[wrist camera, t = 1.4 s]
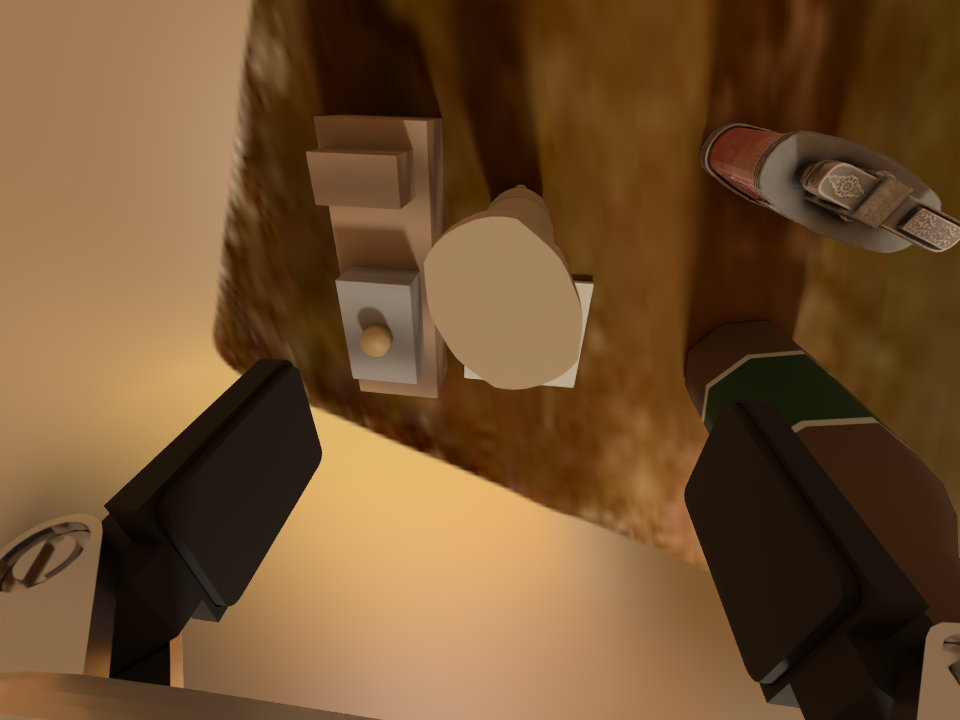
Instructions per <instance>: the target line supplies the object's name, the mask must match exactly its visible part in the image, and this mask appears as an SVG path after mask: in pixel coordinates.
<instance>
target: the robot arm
mask: <svg viewBox="0 0 960 720" xmlns="http://www.w3.org/2000/svg"><path fill="white" fill-rule="evenodd" d="M321 458H322V449H321V445H320V442H319V439H318V435H317V431H316V428H315V424H314V421H313V417H312V413H311V410H310V406H309V403H308V399H307V396H306V392H305V389H304V385H303V382H302V378H301V374H300V372H299V370H298V369H297V368H296V367H293V365H292V363H291V362H290V361H288V360H279V359H267V358H264V359H260V360H259V361H257V362H256V363H255V364H254V365H253V366H252V367H251V368H250V369H249V370H248V371H247V372H246V373H244V374H243V375H242V376H241V377H240V378H239V379H238V380H237V381H236V382H235V383H234V384H233V385H232V386H231V387H230V388H229V389H228V390H227V391H225V392H224V393H223V394H222V395H221V396H220V397H219V398H218V399H217V400H216V401H215V402H214V403H213V404H212V405H211V406H209V407H208V408H207V409H206V410H205V411H204V412H203V413H202V414H201V415H200V416H199V417H198V418H197V419H196V420H194V422H192V423H191V424H190V425H189V426H188V427H187V428H186V429H185V430H184V431H183V432H182V433H181V434H180V435H179V436H177V437H176V438H175V439H174V440H173V441H172V442H171V443H170V444H169V445H168V446H167V447H166V448H165V449H164V450H163V451H162V452H161V453H159V454H158V455H157V456H156V457H155V458H154V459H153V460H152V461H151V462H150V463H149V464H148V465H147V466H146V467H145V468H144V469H142V470H141V471H140V472H139V473H138V474H137V475H136V476H135V477H134V478H133V479H132V480H131V481H130V482H129V483H127V484H126V485H125V486H124V487H123V488H122V489H121V490H120V491H119V492H118V493H117V494H116V495H115V496H114V497H113V498H112V499H110V500H109V501H108V502H107V503H106V504H105V505H104V507H105V508H106V509H107V510H108V512H109V513H110V514H109V515H108V516H107V517H106V518H105V519H104V520H103V521H102V522H101V521H100V520H98V518H96V517H95V516H92V515H88V514H73V515H67V516H63V517H59V518H56V519H52V520H50V521H47V522H45V523H43V524H41V525H38V526H36V527H34V528H32V529H31V530H29V531H27V532H25V533H23V534H22V535H20V536H19V537H17V538H15V539H14V540H12V541H11V542H10V543H9V544H7V545H6V546H5V547H3V548H2V549H1V550H0V720H379V719H373V718H367V717H361V716H355V715H349V714H343V713H337V712H330V711H324V710H318V709H312V708H305V707H299V706H292V705H286V704H280V703H273V702H267V701H261V700H255V699H249V698H242V697H236V696H230V695H223V694H217V693H211V692H205V691H198V690H192V689H185V688H184V686H183V685H184V684H183V658H182V629H183V628H184V626H185V625H186V623H187V622H188V620H189V619H190V617H192V618H193V619H200V620H206V621H213V622H219V621H220V619H221V618H222V615H223V614H224V613H225V611H226V609H227V607H228V606H232V605H234V604H235V603H236V602H237V601H238V600H239V599H240V597H241V596H242V594H243V592H244V591H245V589H246V587H247V586H248V584H249V582H250V581H251V579H252V577H253V575H254V574H255V572H256V570H257V569H258V567H259V565H260V564H261V562H262V560H263V559H264V557H265V555H266V553H267V552H268V550H269V549H270V547H271V545H272V544H273V542H274V540H275V538H276V537H277V535H278V533H279V532H280V530H281V528H282V527H283V525H284V523H285V522H286V520H287V518H288V517H289V515H290V513H291V511H292V510H293V508H294V507H295V505H296V503H297V501H298V500H299V498H300V496H301V495H302V493H303V491H304V490H305V488H306V486H307V485H308V483H309V481H310V480H311V478H312V476H313V475H314V473H315V471H316V469H317V468H318V466H319V464H320V461H321ZM684 498H685V503H686V507H687V509H688V512H689V515H690V517H691V520H692V523H693V526H694V528H695V531H696V534H697V537H698V539H699V542H700V545H701V547H702V550H703V553H704V556H705V558H706V561H707V564H708V566H709V569H710V572H711V575H712V577H713V580H714V583H715V585H716V588H717V591H718V594H719V596H720V599H721V602H722V604H723V607H724V610H725V613H726V615H727V618H728V621H729V623H730V626H731V629H732V632H733V634H734V637H735V640H736V643H737V645H738V648H739V651H740V653H741V656H742V659H743V662H744V664H745V667H746V669H747V671H748V673H749V675H750V676H751V678H752V679H753V680H754V681H756V682H759V683H760V686H761V688H762V691H763V693H764V696H765V699H766V701H767V703H770V704H777V705H784V706H791V707H797V708H800V709H801V711H802V713H803V716H804V718H805V720H960V623H944V622H942V623H940V624H937V625H934V624H933V622H932V621H931V620H930V618H929V617H928V616H927V614H926V613H925V611H926V610H927V609H928V608H930V606H929V605H928V603H927V602H926V601H925V600H924V598H923V597H922V596H921V594H920V593H919V592H918V591H917V589H916V588H915V587H914V585H913V584H912V583H911V582H910V580H909V579H908V578H907V576H906V575H905V574H904V572H903V571H902V570H901V569H900V567H899V566H898V565H897V563H896V562H895V561H894V560H893V558H892V557H891V556H890V554H889V553H888V552H887V551H886V549H885V548H884V547H883V545H882V544H881V543H880V542H879V540H878V539H877V538H876V536H875V535H874V534H873V532H872V531H871V530H870V529H869V527H868V526H867V525H866V523H865V522H864V521H863V520H862V518H861V517H860V516H859V514H858V513H857V512H856V511H855V509H854V508H853V507H852V505H851V504H850V503H849V501H848V500H847V499H846V498H845V496H844V495H843V494H842V492H841V491H840V490H839V489H838V487H837V486H836V485H835V483H834V482H833V481H832V480H831V478H830V477H829V476H828V474H827V473H826V472H825V470H824V469H823V468H822V467H821V465H820V464H819V463H818V461H817V460H816V459H815V458H814V456H813V455H812V454H811V452H810V451H809V450H808V449H807V447H806V446H805V445H804V443H803V442H802V441H801V440H800V438H799V437H798V436H797V434H796V433H795V432H794V430H793V429H792V428H791V427H790V425H789V424H788V423H787V421H786V420H785V419H784V418H783V416H782V415H781V414H780V412H779V411H778V410H777V409H776V407H775V406H774V405H773V404H772V403H771V402H770V401H768V400H761V399H749V398H735V399H734V400H733V401H732V402H731V403H730V404H725V405H724V406H723V407H722V408H721V410H720V412H719V415H718V417H717V419H716V421H715V424H714V426H713V428H712V430H711V432H710V435H709V437H708V439H707V441H706V443H705V446H704V448H703V450H702V452H701V454H700V457H699V459H698V461H697V463H696V465H695V468H694V470H693V472H692V474H691V476H690V479H689V481H688V483H687V485H686V488H685V493H684Z"/></svg>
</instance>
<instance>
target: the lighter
mask: <svg viewBox="0 0 960 720" xmlns="http://www.w3.org/2000/svg"><path fill="white" fill-rule="evenodd" d="M700 160H701V165H702V167H703V168H704V170H705V171H706V172H708V173H709V174H710V175H711V176H712V177H713V178H715V179H716V180H717V181H718V182H719V183H721V184H722V185H723V186H725V187H726V188H728V189H729V190H731V191H733V192H734V193H736V194H738V195H739V196H741V197H743V198H744V199H746V200H748V201H750V202H753V203H756V204H758V205H761V206H763V207H766V208H769V209H770V210H772V211H774V212H775V213H777V214H778V215H780V216H782V217H784V218H787V219H789V220H791V221H793V222H795V223H798V224H801V225H802V226H804V227H806V228H807V229H809V230H811V231H813V232H816V233H818V234H820V235H823V236H826V237H828V238H831V239H833V240H836V241H839V242H841V243H844V244H847V245H850V246H854V247H858V248H863V249H867V250H871V251H876V252H880V253H892V252H896V251H900V250H903V249H905V248H907V247H909V246H910V245H912V244H915V245H918V246H920V247H923V248H926V249H928V250H931V251H934V252H942V251H944V250H946V249H948V248H950V247H952V246H953V245H954V244H956V243H957V242H958V241H959V240H960V221H958V220H956V219H954V218H952V217H951V216H949V215H947V214H945V213H943V212H941V211H940V210H941V202H940V200H939V198H938V196H937V195H936V194H935V193H934V192H933V191H932V190H931V189H930V188H929V187H928V186H927V185H926V184H925V183H924V182H923V181H922V180H921V179H920V178H919V177H918V176H917V175H916V174H914V173H913V172H911V171H910V170H908V169H907V168H905V167H904V166H902V165H901V164H899V163H898V162H897V161H895V160H894V159H892V158H891V157H889V156H888V155H886V154H883V153H881V152H878V151H876V150H873V149H871V148H869V147H866V146H864V145H861V144H859V143H856V142H854V141H851V140H847V139H843V138H838V137H834V136H830V135H825V134H821V133H817V132H811V131H792V132H789V133H787V134H782V133H777V132H774V131H772V130H768V129H764V128H760V127H755V126H751V125H747V124H742V123H727V124H725V125H722V126H720V127H719V128H717V129H716V130H715V131H714V132H712V134H711V135H710V136H709V137H708V138H707V140H706V141H705V143H704V145H703V147H702V150H701V156H700Z"/></svg>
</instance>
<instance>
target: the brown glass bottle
mask: <svg viewBox="0 0 960 720" xmlns="http://www.w3.org/2000/svg"><path fill="white" fill-rule="evenodd" d="M685 385H686V388H687V390H688V392H689V395H690V397H691V400H692V401H693V403H694V405H695V407H696V409H697V411H698V413H699V415H700V417H701V419H702V421H703V423H704V425H705V427H706V429H707V430H708V432H709V434H710V432H711V430H712V428H713V426H714V424H715V421H716V419H717V417H718V415H719V412H720V410H721V408H722V407H723V406H724V405H725V404H730V403H731V402H732V401H733V400H734V399H735V398H749V399H761V400H768V401H770V402H771V403H772V404H773V405H774V406H775V407H776V409H777V410H778V411H779V412H780V414H781V415H782V416H783V418H784V419H785V420H786V421H787V423H788V424H789V425H790V427H791V428H792V429H793V430H794V432H795V433H796V434H797V436H798V437H799V438H800V440H801V441H802V442H803V443H804V445H805V446H806V447H807V449H808V450H809V451H810V452H811V454H812V455H813V456H814V458H815V459H816V460H817V461H818V463H819V464H820V465H821V467H822V468H823V469H824V470H825V472H826V473H827V474H828V476H829V477H830V478H831V480H832V481H833V482H834V483H835V485H836V486H837V487H838V489H839V490H840V491H841V492H842V494H843V495H844V496H845V498H846V499H847V500H848V501H849V503H850V504H851V505H852V507H853V508H854V509H855V511H856V512H857V513H858V514H859V516H860V517H861V518H862V520H863V521H864V522H865V523H866V525H867V526H868V527H869V529H870V530H871V531H872V532H873V534H874V535H875V536H876V538H877V539H878V540H879V542H880V543H881V544H882V545H883V547H884V548H885V549H886V551H887V552H888V553H889V554H890V556H891V557H892V558H893V560H894V561H895V562H896V563H897V565H898V566H899V567H900V569H901V570H902V571H903V572H904V574H905V575H906V576H907V578H908V579H909V580H910V582H911V583H912V584H913V585H914V587H915V588H916V589H917V591H918V592H919V593H920V594H921V596H922V597H923V598H924V600H925V601H926V602H927V603H928V605H929V606H930V608H928V609H927V610H926V611H925V613H926V614H927V616H928V617H929V618H930V620H931V621H932V622H933V624H934V625H937V624H940V623H942V622H944V623H960V559H959V557H958V525H957V515H956V513H955V510H954V508H953V506H952V504H951V501H950V499H949V497H948V494H947V492H946V490H945V488H944V485H943V483H942V482H941V481H940V480H939V479H938V478H937V477H936V476H935V474H934V473H933V472H932V471H931V470H930V469H929V468H928V467H927V466H926V465H925V464H924V462H923V461H922V460H921V459H920V458H919V457H918V456H917V455H916V454H915V453H914V452H913V451H912V450H911V449H910V448H909V447H908V446H907V445H906V444H905V443H904V442H903V441H902V440H901V439H899V438H898V437H897V436H896V435H895V434H894V433H893V432H892V431H891V430H890V429H889V428H888V427H887V426H886V425H884V424H883V423H882V422H881V421H880V420H879V419H878V418H877V417H876V416H875V415H874V414H873V413H872V412H871V411H869V410H868V409H867V408H866V407H865V406H864V405H863V404H862V403H861V402H860V401H859V400H858V399H857V398H856V397H854V396H853V395H852V394H851V393H850V392H849V391H848V390H847V389H846V388H845V387H844V386H843V385H842V384H841V383H839V382H838V381H837V380H836V379H835V378H834V377H833V376H832V375H831V374H830V373H829V372H828V371H827V370H826V369H824V368H823V367H822V366H821V365H820V364H819V363H818V362H817V361H816V360H815V359H814V358H813V357H812V356H811V355H809V354H808V353H807V352H806V351H805V350H803V349H802V348H801V347H800V346H799V345H797V344H796V343H795V342H794V341H793V340H791V339H790V338H789V337H788V336H787V335H785V334H784V333H783V332H782V331H781V330H779V329H778V328H777V327H776V326H774V325H773V324H772V323H770V322H769V321H766V320H763V321H753V322H743V323H732V324H722V325H720V326H719V327H717V328H716V329H715V330H714V331H712V332H711V333H710V334H709V335H707V336H706V337H705V338H704V339H702V340H701V341H700V342H699V343H697V344H696V345H695V346H694V347H693V348H691V349H690V350H689V352H688V360H687V370H686V379H685Z"/></svg>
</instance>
